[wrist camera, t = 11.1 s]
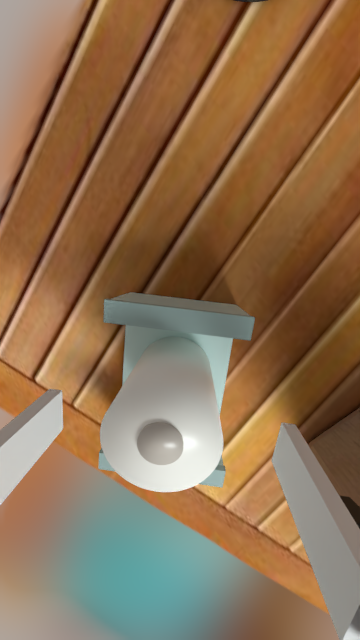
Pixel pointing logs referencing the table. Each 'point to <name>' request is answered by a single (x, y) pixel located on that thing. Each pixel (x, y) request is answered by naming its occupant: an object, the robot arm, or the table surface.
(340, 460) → the wooden block
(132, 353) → the cradle
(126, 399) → the roll
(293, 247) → the table surface
